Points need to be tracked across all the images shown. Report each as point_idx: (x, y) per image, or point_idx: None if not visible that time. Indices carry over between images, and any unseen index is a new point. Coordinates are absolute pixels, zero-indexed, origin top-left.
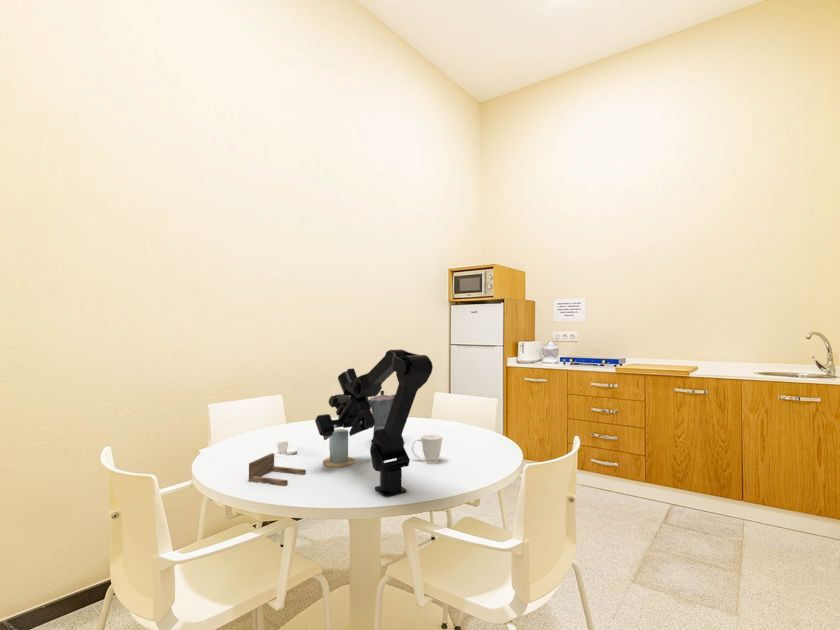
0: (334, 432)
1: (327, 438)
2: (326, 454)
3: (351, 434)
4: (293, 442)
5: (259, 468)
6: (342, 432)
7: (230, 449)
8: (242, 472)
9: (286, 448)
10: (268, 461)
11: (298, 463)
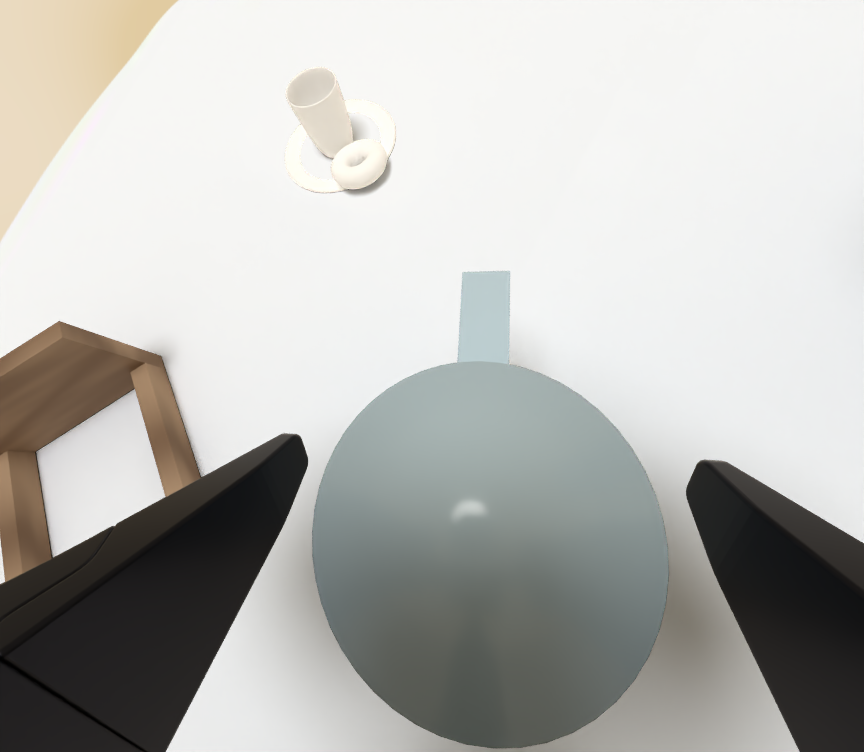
0: (357, 554)
1: (250, 570)
2: None
3: (710, 547)
4: (461, 16)
5: (6, 425)
6: (471, 687)
7: (220, 22)
8: (79, 313)
9: (332, 135)
10: (55, 378)
11: (298, 343)
